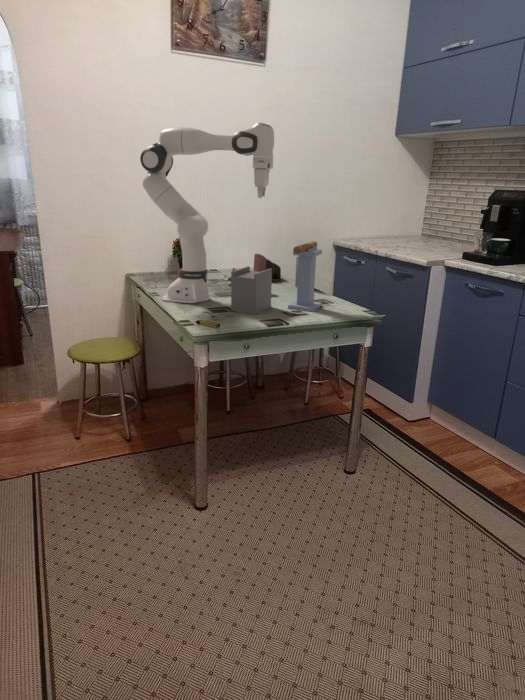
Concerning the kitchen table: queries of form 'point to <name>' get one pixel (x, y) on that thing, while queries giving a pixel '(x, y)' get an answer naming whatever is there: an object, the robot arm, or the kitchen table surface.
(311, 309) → the shelf post
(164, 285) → the kitchen table surface
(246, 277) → the tray stand
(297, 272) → the flask
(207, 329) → the kitchen table surface
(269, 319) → the kitchen table surface
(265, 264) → the letter holder
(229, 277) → the passion flower
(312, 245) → the dowel
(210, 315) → the kitchen table surface
